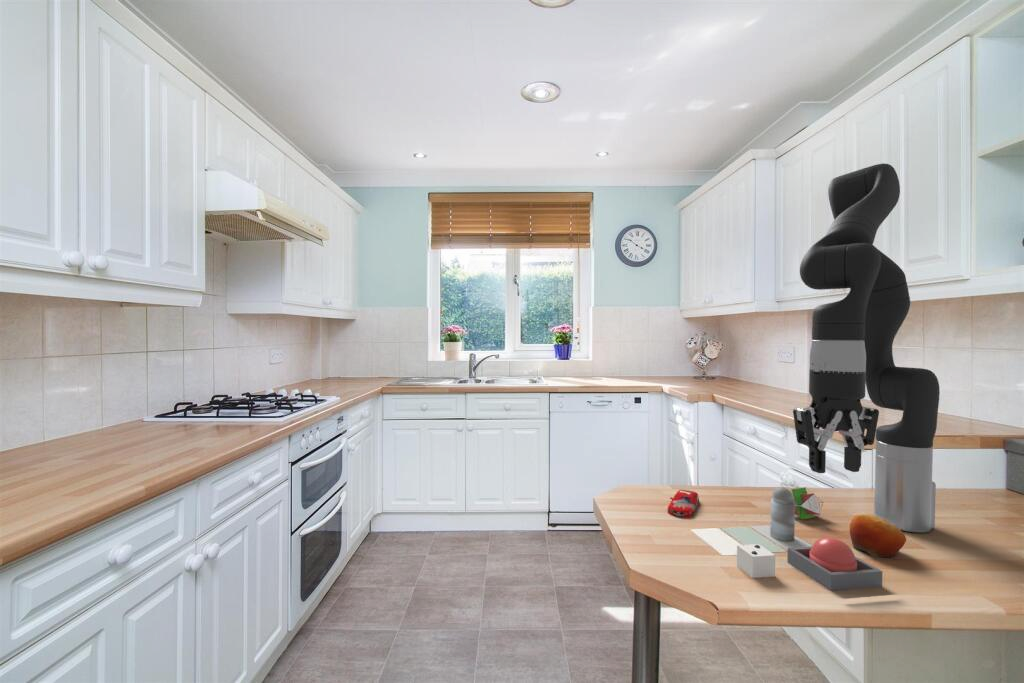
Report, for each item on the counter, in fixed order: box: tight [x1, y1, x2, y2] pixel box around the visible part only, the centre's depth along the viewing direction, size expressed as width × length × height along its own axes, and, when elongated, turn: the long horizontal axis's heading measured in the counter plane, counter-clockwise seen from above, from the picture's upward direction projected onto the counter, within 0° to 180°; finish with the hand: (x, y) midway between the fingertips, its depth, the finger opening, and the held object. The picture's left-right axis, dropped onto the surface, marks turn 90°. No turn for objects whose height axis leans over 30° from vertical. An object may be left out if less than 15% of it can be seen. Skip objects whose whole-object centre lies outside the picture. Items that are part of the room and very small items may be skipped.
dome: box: [809, 536, 857, 572], centre depth 76 cm, size 6×6×6 cm
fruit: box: [849, 513, 907, 558], centre depth 84 cm, size 8×8×8 cm
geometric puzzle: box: [790, 486, 824, 521], centre depth 100 cm, size 7×7×8 cm
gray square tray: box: [786, 547, 883, 592], centre depth 76 cm, size 9×9×3 cm
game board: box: [690, 524, 813, 557], centre depth 88 cm, size 20×12×1 cm, turn 98°
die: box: [736, 544, 776, 579], centre depth 76 cm, size 4×4×4 cm
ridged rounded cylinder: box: [770, 487, 796, 542], centre depth 89 cm, size 4×4×10 cm
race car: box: [667, 489, 700, 519], centre depth 104 cm, size 13×5×4 cm, turn 148°
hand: (834, 470), depth 75 cm, fingers open, 5 cm apart
